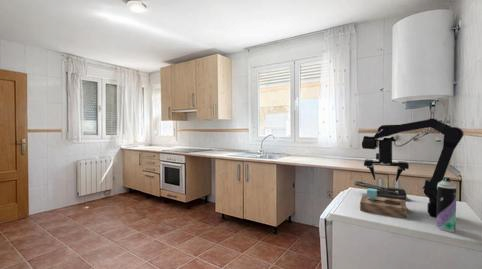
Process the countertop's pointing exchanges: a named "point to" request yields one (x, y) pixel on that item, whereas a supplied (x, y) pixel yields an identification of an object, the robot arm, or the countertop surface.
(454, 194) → the spray can
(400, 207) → the keyhole plate
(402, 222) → the countertop surface
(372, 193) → the teal peg
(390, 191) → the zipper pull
